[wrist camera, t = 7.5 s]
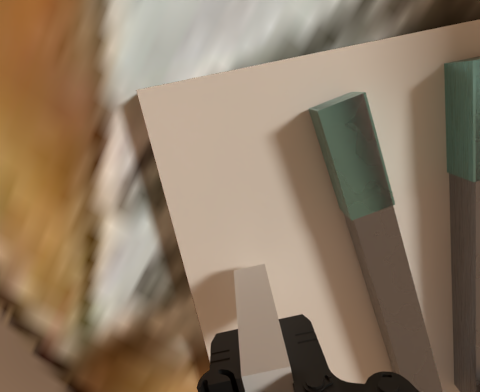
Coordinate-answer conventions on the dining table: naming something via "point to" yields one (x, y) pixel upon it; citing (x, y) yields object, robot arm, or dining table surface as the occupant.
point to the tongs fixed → (464, 215)
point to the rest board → (311, 188)
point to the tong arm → (375, 232)
